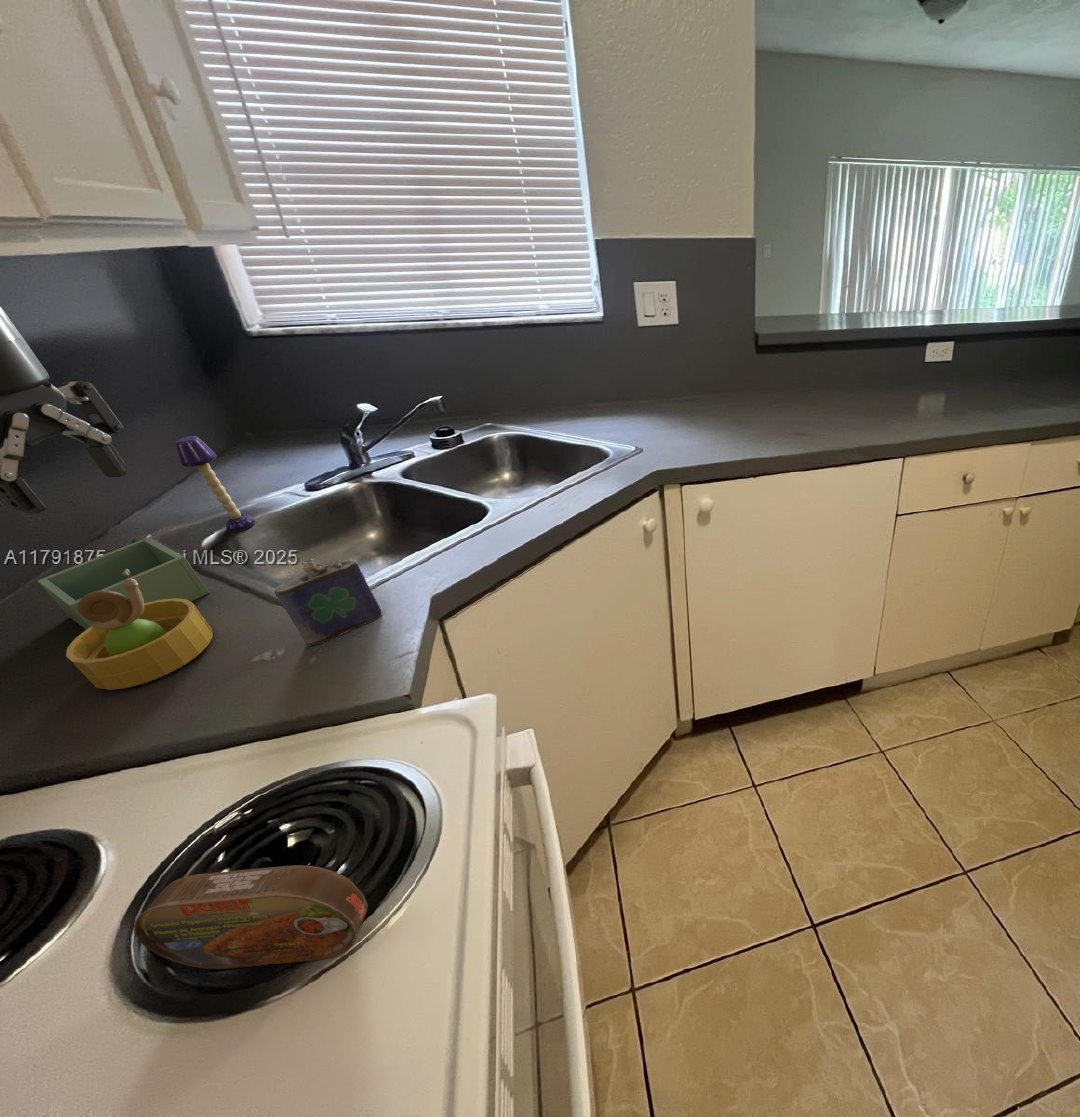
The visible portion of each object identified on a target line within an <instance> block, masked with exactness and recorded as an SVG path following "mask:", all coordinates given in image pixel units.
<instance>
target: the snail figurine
mask: <svg viewBox="0 0 1080 1117" xmlns="http://www.w3.org/2000/svg"><path fill="white" fill-rule="evenodd" d="M129 572H130V571H129V570H128V569H125V570H124V571H123V573H122V574H123V576H128V575H130V574H129ZM130 576H131V575H130ZM128 577H129V576H128ZM121 586H122V587H123V588H124V589H125V590H126V591H127V593H128V596H129V599H130V600H129V599H128V598H127V597H126V596H124V595H123V594H120V593H117V592H114V591H96V592H92V593H89V594H87V595H86V596H84V597H83V598H82V599H81V600H80V601H79V602H78V611H79V613H80V614H81V616H83V617H84V618H86V619H88V620H90V621H95V622H100V623H95V624H92V625H91V627H92V628H96V629H102V630H110V629H111V630H110V631H109V632H108V634H107V636H106V638H105V647H106V650H107V652H108V653H109V654H110V655H111V656H115V655H118V654H122V653H125V652H128V651H131V650H133V649H136V648H139V647H141V646H144V645H146V644H148V643H150V642H152V641H154V640H156V639H158V638H160V637H161V636H163V635H164V634H166V632H165V630H164V629H163V628H162V627H161V626H160V625H159V624H157V623H155V622H153V621H150V620H146V619H137V618H139V617H140V616H141V615H142V613H143V611H144V600H143V597H142V594H141V592H140V590H139V588H138V583H137V581H136V580H135V579H132V577H131V579H130V578H129V579H125V580H124V581H122V583H121Z"/></svg>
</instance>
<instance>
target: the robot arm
mask: <svg viewBox="0 0 1080 1117" xmlns="http://www.w3.org/2000/svg"><path fill="white" fill-rule="evenodd" d="M7 314H8V313H6V311H5V309H3V308H2V306H0V445H2V446H1V447H0V496H1V497H2V498H3V499H4V501H5V502H6V503H7V504H8V505H9V506H10V508H11V509H13V510H15V511H17V512H18V511H21V512H22V513H24V514H40V513H43V512H44V511H47V507H46V506H45V504H44V503H43V502H42V501H41V499H40V498H39V497H38V495H37V494H36V493H35V491H33V489H32V488H31V486H30V485H29V484H28V483H27V482H26V481H25V479H24V478H21V477H19V478H18V470H19V462H20V460H22V458H23V457H24V453H25V448H30V447H35V446H36V445H40V444H41V443H42V442H44V441H45V440H48V439H49V440H50V439H56V438H60V437H63V436H66V437H69V438H71V439H73V440H77V441H78V442H81V443H83V444H86V445H87V446H85V447H84V449H85V450H86V451H87V452H88V454H89V455H90V457H91V458H92V460H93V461H94V463H95V464H96V466H97V467H98V468H99V469H100V471H101V472H102V474H103V475H104V476H105V477H108V478H121V477H123V476H125V475H127V471H126V469H127V465H126V462H125V461H124V459H123V458H122V457H121V455H120V453H119V452H118V450H117V449H116V448H115V447H114V445H113V443H112V440H113V438H114V437H115V436H116V435H117V434H121V433H122V432H124V430H125V429H124V425H123V424H122V423H121V421H120V420H119V418H118V417H117V415H115V413H114V412H113V410H112V409H111V407H110V406H109V405H108V403H107V402H106V400H104V398H103V396H101V394H100V393H99V392H98V390H97V389H96V388H95V386H94V385H93V383H91V382H89V381H86V380H85V381H83V380H82V381H80V380H79V381H64V382H62V384H61V386H59V387H56V386H54V385H53V384H52V382H50V377H51V376H50V374H49V373H48V371H47V370H46V368H45V367H44V366H43V364H42V363H41V361H40V360H39V358H37V355H35V353H34V351H33V349H31V347H30V346H29V344H28V343H27V342H26V340H25V339H24V337H23V336H22V334H21V333H20V331H19V330H18V328H17V327H16V326H15V324H14V323H13V322H12V320H11V319H10V318H9V316H8V315H7ZM68 402H69V403H70V404H71V405H74V406H75V407H76V409H78V411H79V412H80V414H82V416H83V417H84V418H85V419H86V421H85V420H83V419H80V418H78V417H76V416H74V415H72V414H69V413H67V410H68Z"/></svg>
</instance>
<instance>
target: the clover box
mask: <svg viewBox="0 0 1080 1117" xmlns="http://www.w3.org/2000/svg"><path fill="white" fill-rule="evenodd" d="M314 562H315V560H314V559H313V558H309V559H307V560H305V562H302V566H304V567H303V571H304V572H305V573H304V574H301V575H298V576H297V577H295V578H292V579H290V580H288V581H285V582H283V583H281V584H278V585H277V586H276V587H275V589H274V595H275V596H276V598H277V599H278V600H279V601H280V603H281V604H282V606H283V608H284V609H285V611H286V614H288V616H289V617H290V619H291V621H292V624H293V625H294V627H295V628H296V629H297V631H298V632H299V635H300V636H301V638H302V640H303V641H304V643H305V644H307V645H308V646H309V647H312V646H315V645H320V644H323V643H326V642H327V641H328V640H332V639H334V638H336V637H338V636H337V635H339V634H341V633H344V634H347V633H348V632H350V631H351V630H353V629H356V628H355V627H358V626H359V627H360V625H361V626H364V625H366V624H365V623H367V624H369V623H371V622H376V621H377V620H379V619H380V618H381V617H382V616H381V613H382V610H381V607H380V605H379V604H378V601H377V599H376V598H375V596H374V594H373V592H372V590H371V588H370V586H369V584H368V582H367V581H366V578H365V576H364V574H363V572H362V570H361V568H360V565H359V564H358V563H356V562H355V561H354V560H351V559H346V560H342V561H340V560H337V561H334V562H333V563H332V564H325V565H324V564H320V563H318V564H315V563H314ZM363 624H364V625H363ZM359 627H358V628H359ZM335 636H336V637H335ZM325 641H326V642H325Z"/></svg>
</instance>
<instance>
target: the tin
mask: <svg viewBox="0 0 1080 1117" xmlns="http://www.w3.org/2000/svg"><path fill="white" fill-rule="evenodd" d="M368 908H369V905H368V902H367V898H366V897H365V895H364V894H363V892H362V891H361V890H360V889H359V888H358V887H357V886H356V884H355V883H354V882H353V881H352V880H351V879H349V877H347V876H344V875H342V874H341V873H338V872H336V871H333V870H331V869H327V868H323V867H318V866H313V865H300V864H297V865H295V864H294V865H283V866H282V865H281V866H270V867H260V868H247V869H239V870H230V871H228V870H227V871H219V872H209V873H197V874H191V875H186V876H182V877H179V878H178V879H176V880H173V881H172V882H171V883H169V884H168V885H167V886H166V887H164V888H163V889H162V891H161V892H160V893H159V894H158V895H157V896H156V897H155V899H154V900H153V901H152V902H151V904H150V905H149V906H148V907H147V908H146V910H145V911H144V912H142V913H141V914H140V915H139V916H137V918H136V919H135V921H134V924H133V931H134V934H135V937H136V938H137V940H138V941H139V942H140V943H141V944H142V946H144V947H145V948H147V949H148V950H149V951H151V952H153V953H154V954H156V955H158V956H160V957H162V958H164V959H167V960H169V961H172V962H175V963H178V964H181V965H184V966H188V967H192V968H199V969H207V970H227V969H229V970H230V969H238V968H239V969H240V968H249V967H260V966H270V965H278V964H279V965H280V964H292V963H301V962H312V961H323V960H327V959H332V958H334V957H337V956H340V955H342V954H343V953H345V952H347V951H348V950H349V949H350V948H351V947H352V946H353V944H354V943H355V941H356V937H357V934H358V932H359V930H360V927H361V926H362V924H363V922H364V919H365V917H366V914H367V912H368Z"/></svg>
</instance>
